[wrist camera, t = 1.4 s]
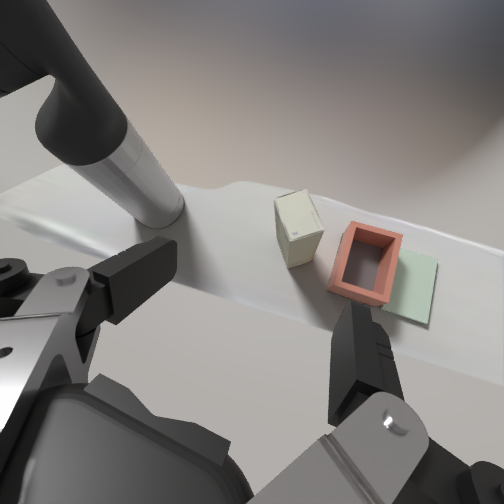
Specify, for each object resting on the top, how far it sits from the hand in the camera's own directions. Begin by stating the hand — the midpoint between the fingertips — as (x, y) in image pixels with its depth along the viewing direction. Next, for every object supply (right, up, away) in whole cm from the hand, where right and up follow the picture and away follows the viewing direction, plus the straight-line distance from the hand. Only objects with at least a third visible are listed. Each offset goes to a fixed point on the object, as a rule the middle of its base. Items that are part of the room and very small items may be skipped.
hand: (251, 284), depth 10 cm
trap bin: (+17, -1, +26) cm, 31 cm away
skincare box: (+7, +2, +28) cm, 29 cm away
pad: (+24, -3, +24) cm, 34 cm away
